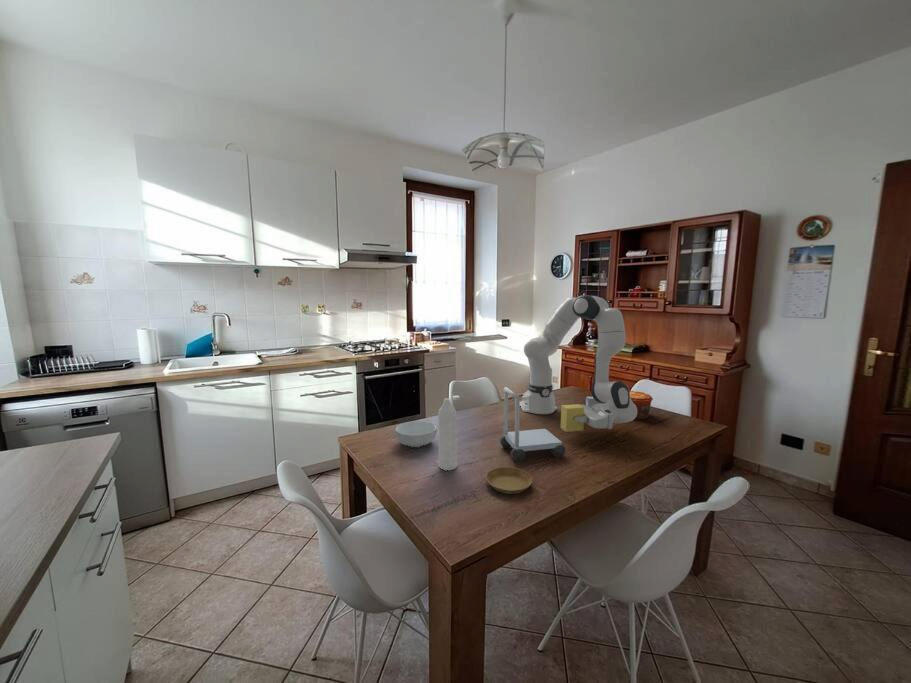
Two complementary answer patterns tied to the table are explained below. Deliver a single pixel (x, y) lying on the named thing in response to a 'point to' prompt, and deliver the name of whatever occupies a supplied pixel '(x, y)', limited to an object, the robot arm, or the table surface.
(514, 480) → the plant saucer
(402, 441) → the cereal bowl
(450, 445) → the water bottle
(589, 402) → the medicine box
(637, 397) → the food container
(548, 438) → the trolley
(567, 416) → the yellow rectangular block
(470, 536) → the table surface
